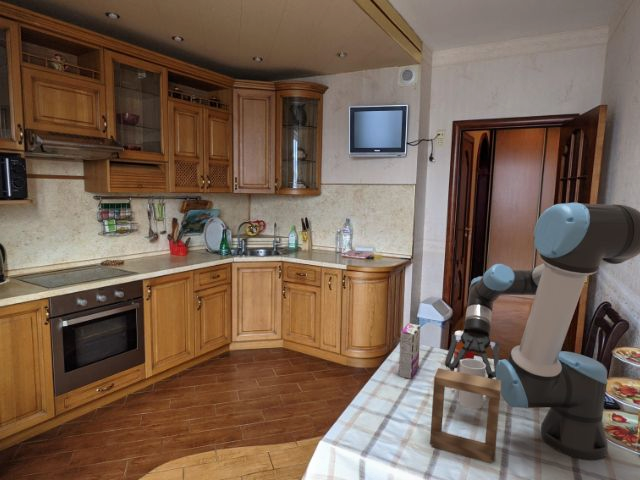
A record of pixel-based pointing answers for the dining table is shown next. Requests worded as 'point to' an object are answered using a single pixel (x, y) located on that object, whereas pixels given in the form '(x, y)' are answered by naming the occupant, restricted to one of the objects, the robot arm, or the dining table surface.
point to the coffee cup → (459, 346)
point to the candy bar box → (409, 350)
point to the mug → (471, 368)
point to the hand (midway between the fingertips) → (468, 395)
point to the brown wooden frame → (493, 391)
